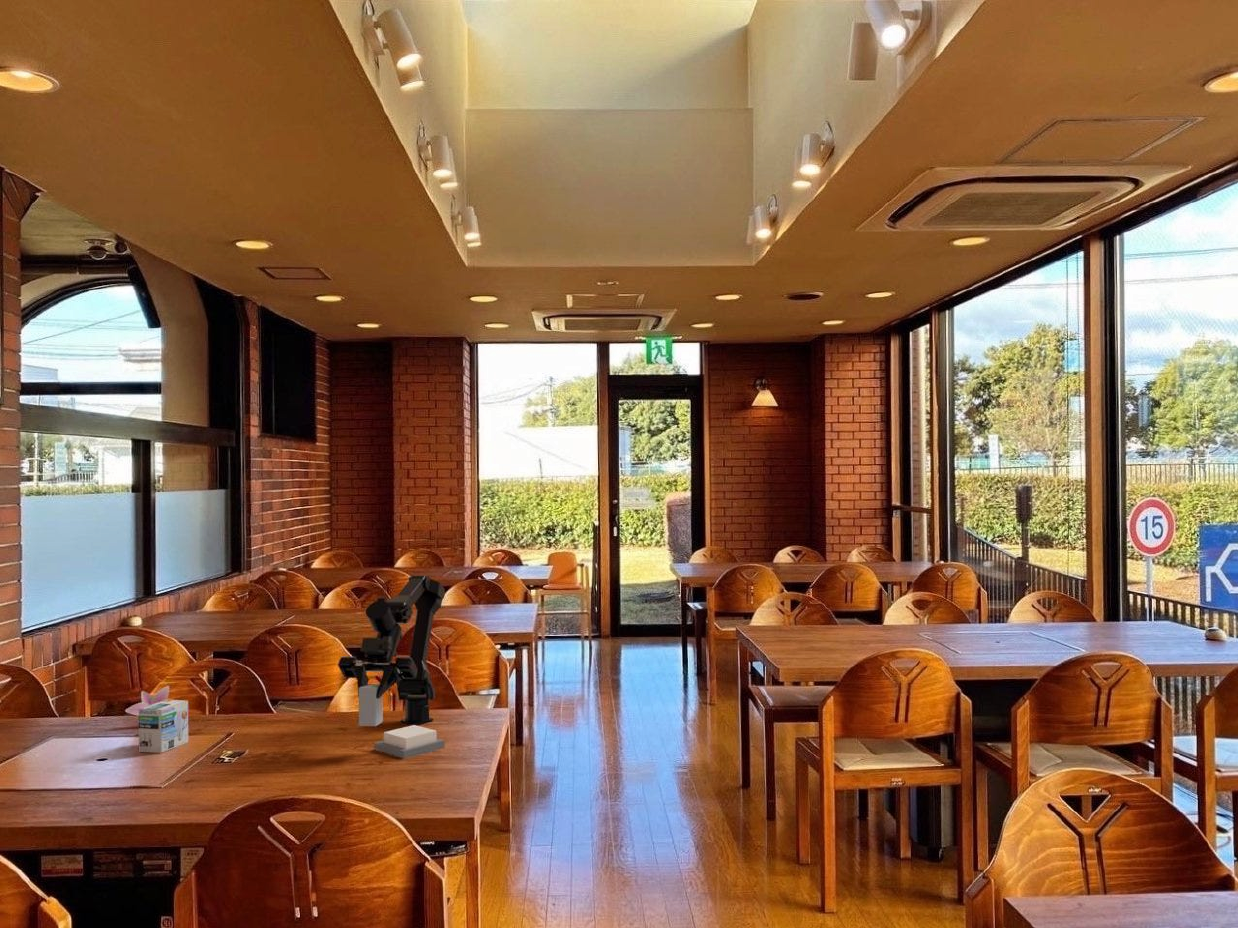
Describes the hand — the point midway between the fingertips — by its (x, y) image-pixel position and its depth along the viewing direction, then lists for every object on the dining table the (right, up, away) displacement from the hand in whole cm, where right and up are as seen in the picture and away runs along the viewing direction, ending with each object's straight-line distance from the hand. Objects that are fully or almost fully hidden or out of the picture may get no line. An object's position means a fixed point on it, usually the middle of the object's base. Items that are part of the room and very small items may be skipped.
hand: (368, 697), depth 229 cm
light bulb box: (-54, -15, +10) cm, 57 cm away
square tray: (+9, -14, +4) cm, 17 cm away
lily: (-67, -16, +33) cm, 76 cm away
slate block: (0, -7, +1) cm, 7 cm away
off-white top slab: (+9, -12, +4) cm, 15 cm away
